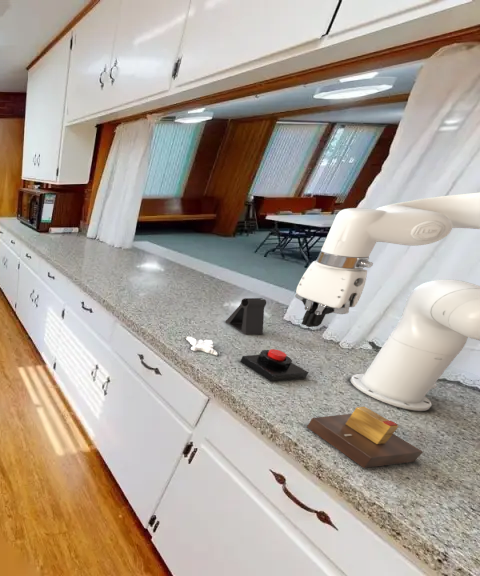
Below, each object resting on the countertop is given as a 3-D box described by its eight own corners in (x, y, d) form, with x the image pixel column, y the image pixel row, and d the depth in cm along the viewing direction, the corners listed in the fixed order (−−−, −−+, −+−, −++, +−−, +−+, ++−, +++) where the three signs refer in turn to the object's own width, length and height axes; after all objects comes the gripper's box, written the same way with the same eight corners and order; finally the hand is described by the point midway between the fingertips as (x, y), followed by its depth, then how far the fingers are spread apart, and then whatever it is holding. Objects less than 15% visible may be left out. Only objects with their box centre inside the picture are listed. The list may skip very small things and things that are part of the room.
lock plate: (351, 422, 69) (358, 412, 68) (414, 461, 60) (424, 451, 59) (306, 427, 68) (312, 417, 67) (363, 468, 59) (372, 457, 58)
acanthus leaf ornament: (185, 339, 102) (187, 334, 101) (209, 343, 100) (211, 338, 99) (191, 351, 96) (193, 346, 95) (217, 355, 93) (219, 350, 92)
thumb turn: (344, 424, 65) (356, 406, 63) (352, 423, 65) (365, 405, 63) (377, 444, 60) (391, 426, 58) (385, 443, 61) (399, 425, 59)
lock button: (274, 353, 88) (277, 348, 87) (287, 360, 85) (290, 355, 84) (263, 354, 88) (266, 349, 87) (276, 361, 84) (279, 356, 84)
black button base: (272, 359, 91) (277, 348, 90) (305, 378, 83) (311, 367, 81) (240, 361, 90) (244, 351, 89) (270, 381, 82) (276, 370, 80)
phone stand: (225, 321, 112) (236, 293, 107) (241, 321, 112) (252, 293, 107) (245, 334, 104) (257, 304, 99) (262, 334, 104) (275, 304, 99)
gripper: (398, 269, 65) (358, 339, 72) (318, 251, 79) (291, 311, 86) (367, 271, 65) (331, 341, 72) (292, 253, 78) (268, 313, 86)
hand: (309, 325), depth 79 cm, fingers closed
